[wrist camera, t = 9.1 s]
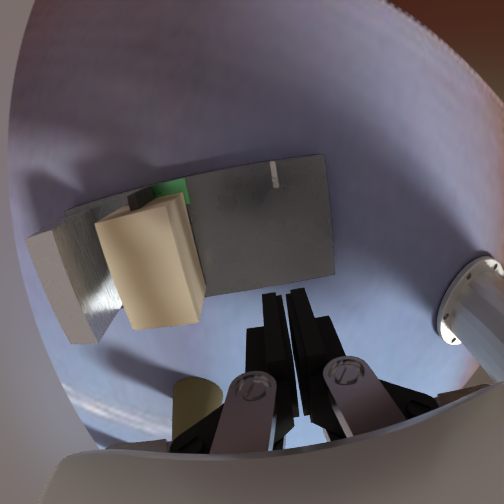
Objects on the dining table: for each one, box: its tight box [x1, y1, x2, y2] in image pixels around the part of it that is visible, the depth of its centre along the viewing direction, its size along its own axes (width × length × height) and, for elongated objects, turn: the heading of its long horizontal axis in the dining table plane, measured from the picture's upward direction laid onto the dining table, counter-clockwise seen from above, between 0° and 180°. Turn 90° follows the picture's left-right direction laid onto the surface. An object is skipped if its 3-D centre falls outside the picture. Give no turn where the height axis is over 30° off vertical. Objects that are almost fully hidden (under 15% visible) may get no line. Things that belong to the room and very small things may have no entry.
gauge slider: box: [95, 186, 206, 330], centre depth 19 cm, size 5×9×5 cm, turn 10°
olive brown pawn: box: [172, 378, 223, 441], centre depth 25 cm, size 6×6×11 cm
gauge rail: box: [25, 154, 335, 344], centre depth 20 cm, size 22×10×8 cm, turn 100°
